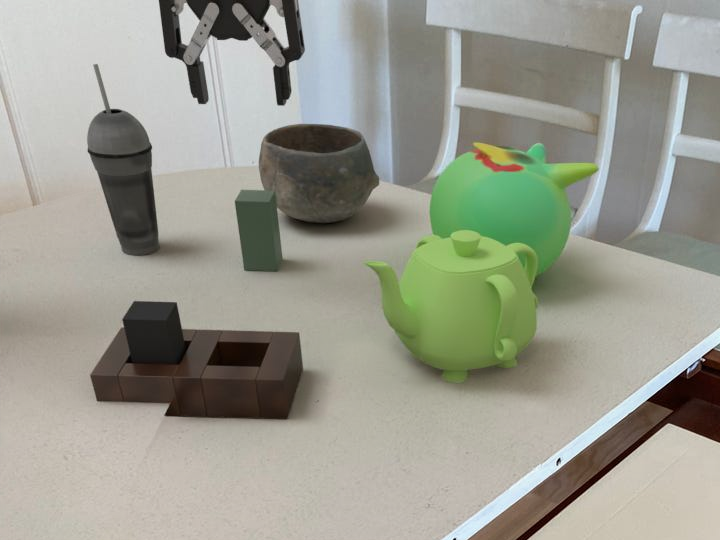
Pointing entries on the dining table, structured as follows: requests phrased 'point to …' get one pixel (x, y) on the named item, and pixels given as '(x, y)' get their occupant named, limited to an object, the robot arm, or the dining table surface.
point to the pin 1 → (154, 333)
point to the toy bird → (508, 198)
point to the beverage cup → (125, 175)
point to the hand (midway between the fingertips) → (242, 103)
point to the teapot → (462, 302)
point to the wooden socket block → (209, 375)
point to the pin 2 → (259, 230)
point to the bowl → (317, 171)
